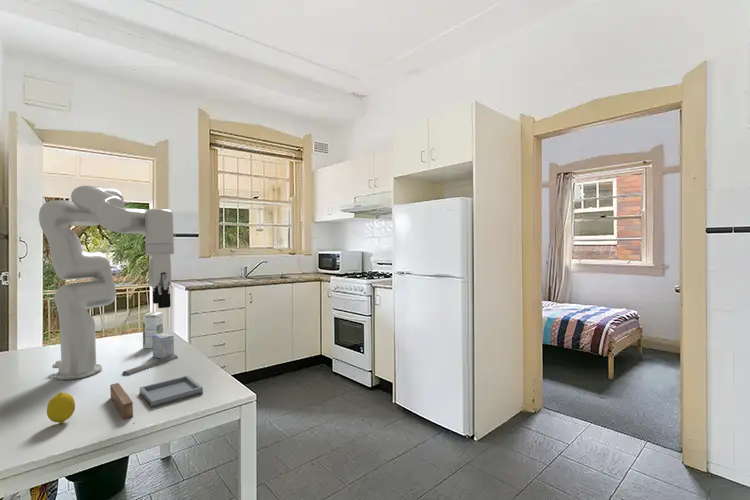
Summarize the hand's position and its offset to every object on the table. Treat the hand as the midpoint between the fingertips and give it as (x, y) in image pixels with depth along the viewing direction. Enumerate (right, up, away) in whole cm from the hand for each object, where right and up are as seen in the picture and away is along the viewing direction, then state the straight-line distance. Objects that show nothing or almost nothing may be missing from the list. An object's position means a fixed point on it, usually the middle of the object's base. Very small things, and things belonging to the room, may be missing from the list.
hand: (161, 305), depth 114 cm
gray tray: (+4, -27, -1) cm, 27 cm away
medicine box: (-18, -26, +33) cm, 45 cm away
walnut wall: (-5, -27, -10) cm, 29 cm away
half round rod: (-17, -26, +23) cm, 39 cm away
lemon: (-14, -27, -19) cm, 37 cm away
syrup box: (-30, -25, +47) cm, 61 cm away
